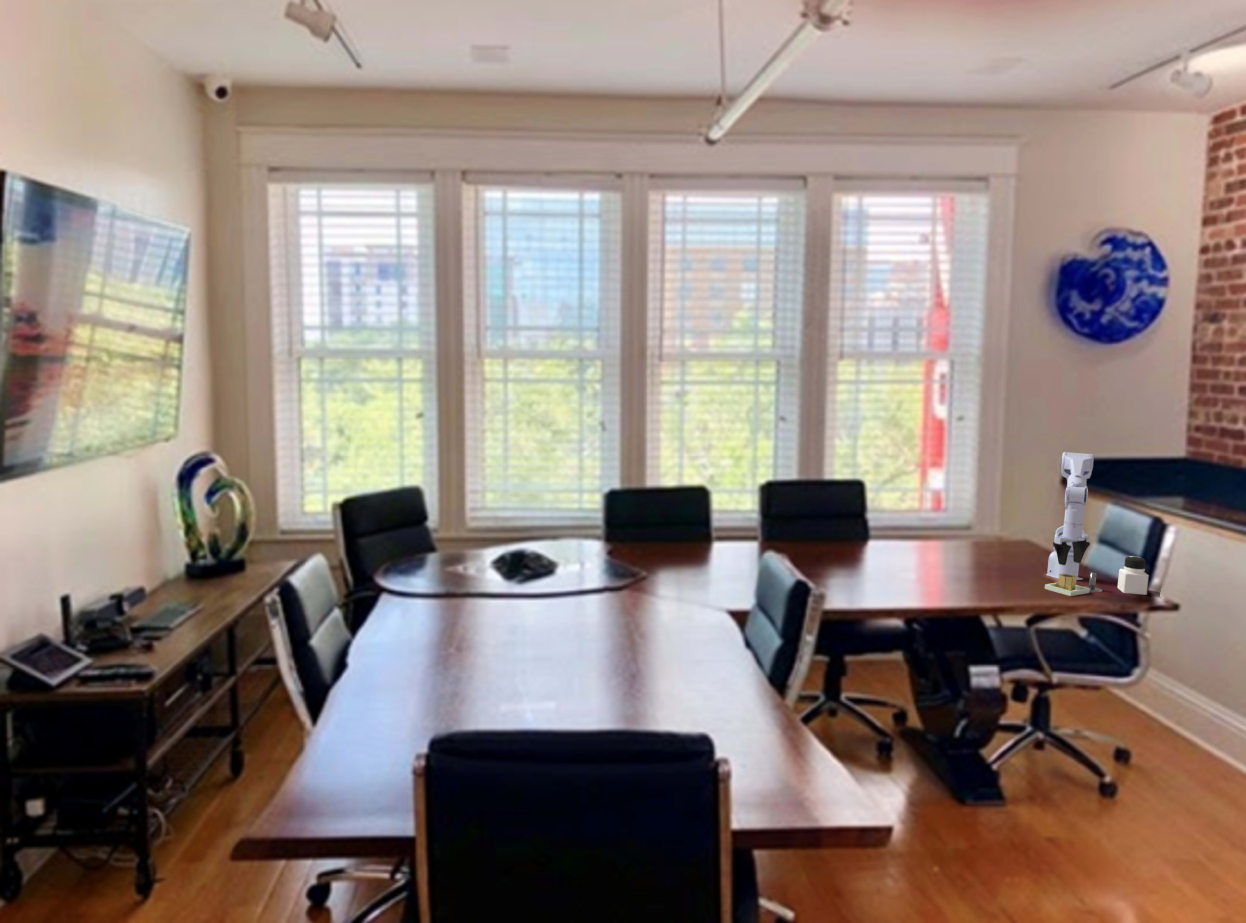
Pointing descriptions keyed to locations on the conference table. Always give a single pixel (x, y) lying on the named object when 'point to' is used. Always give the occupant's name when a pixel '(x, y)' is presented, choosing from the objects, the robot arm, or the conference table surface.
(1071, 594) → the tray
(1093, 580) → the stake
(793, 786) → the conference table surface
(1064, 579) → the collar
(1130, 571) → the medicine bottle
